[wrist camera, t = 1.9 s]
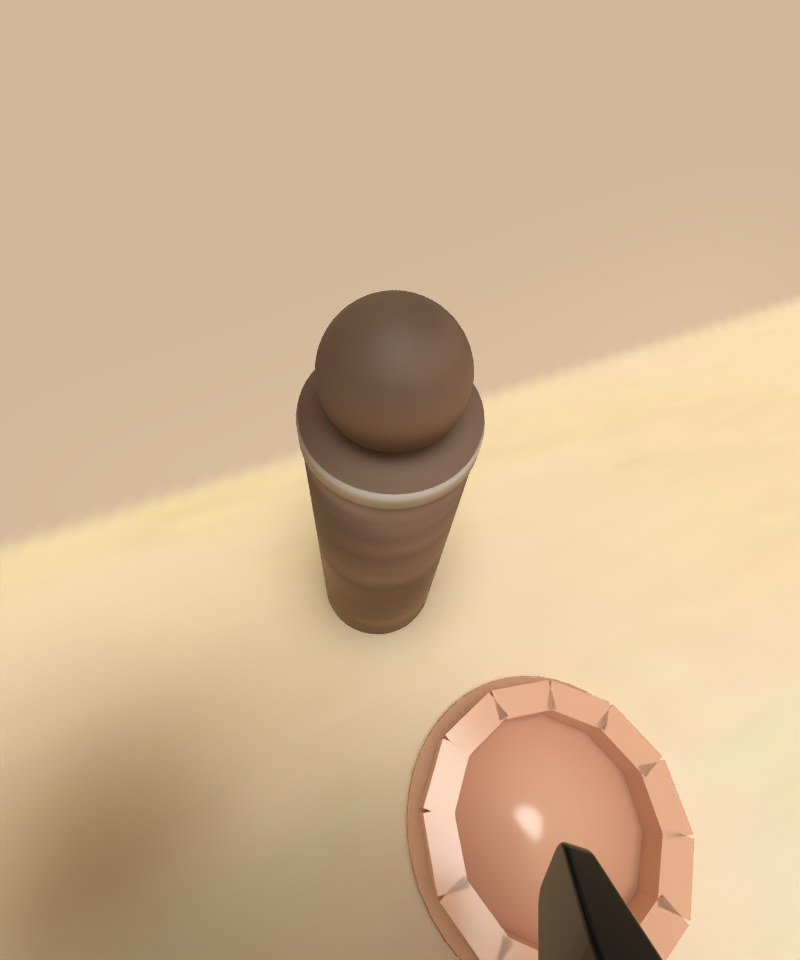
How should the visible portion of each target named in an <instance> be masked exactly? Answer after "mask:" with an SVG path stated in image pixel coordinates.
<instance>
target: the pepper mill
mask: <svg viewBox="0 0 800 960" xmlns="http://www.w3.org/2000/svg"><path fill="white" fill-rule="evenodd" d="M473 380H474V364H473V357H472V352H471V348H470V345H469V343H468V340H467V338H466V336H465V333H464V331H463V330H462V328H461V327H460V326H459V324H458V323H457V321H456V320H455V319H454V317H453V316H452V315H451V314H450V313H449V312H448V311H447V310H445V309H444V308H443V307H442V306H440V305H439V304H438V303H436V302H434V301H433V300H431V299H429V298H426V297H424V296H422V295H419V294H416V293H412V292H407V291H397V290H394V291H393V290H390V291H382V292H378V293H373V294H369V295H366V296H364V297H362V298H360V299H358V300H356V301H354V302H353V303H351V304H349V305H348V306H347V307H346V308H344V309H343V310H342V311H341V312H340V313H339V314H338V315H337V316H336V317H335V318H334V319H333V321H332V322H331V323H330V325H329V326H328V328H327V329H326V331H325V333H324V335H323V337H322V339H321V342H320V344H319V348H318V351H317V356H316V363H315V370H314V371H313V372H312V374H311V375H310V377H309V378H308V379H307V381H306V382H305V384H304V386H303V388H302V391H301V394H300V397H299V401H298V404H297V411H296V426H297V432H298V437H299V443H300V448H301V451H302V454H303V457H304V460H305V466H306V471H307V477H308V483H309V489H310V495H311V501H312V506H313V512H314V518H315V524H316V530H317V536H318V541H319V547H320V553H321V559H322V565H323V571H324V576H325V582H326V588H327V594H328V598H329V601H330V604H331V606H332V608H333V610H334V611H335V613H336V614H337V615H338V616H339V617H340V619H341V620H342V621H344V622H345V623H346V624H347V625H349V626H351V627H352V628H354V629H356V630H359V631H362V632H365V633H371V634H384V633H389V632H393V631H396V630H399V629H401V628H403V627H404V626H406V625H407V624H409V623H410V622H411V621H412V620H413V619H414V618H415V617H416V616H417V615H418V614H419V612H420V611H421V609H422V608H423V606H424V603H425V601H426V598H427V595H428V592H429V589H430V586H431V583H432V580H433V578H434V575H435V572H436V569H437V566H438V563H439V560H440V557H441V554H442V551H443V548H444V545H445V542H446V539H447V537H448V534H449V531H450V528H451V525H452V522H453V519H454V516H455V513H456V510H457V507H458V504H459V501H460V499H461V496H462V493H463V490H464V487H465V484H466V481H467V478H468V475H469V472H470V470H471V469H472V467H473V465H474V463H475V460H476V458H477V455H478V452H479V449H480V447H481V444H482V440H483V436H484V427H485V421H484V409H483V405H482V401H481V398H480V396H479V393H478V391H477V389H476V387H475V386H474V384H473Z"/></svg>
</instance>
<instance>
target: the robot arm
mask: <svg viewBox="0 0 800 960" xmlns="http://www.w3.org/2000/svg"><path fill="white" fill-rule="evenodd" d="M538 960H663V959H662V958H661V956H660V955H659V953H658V952H657V950H656V948H655V947H654V945H653V944H652V942H651V941H650V939H649V938H648V936H647V935H646V933H645V932H644V930H643V929H642V927H641V925H640V924H639V922H638V921H637V919H636V918H635V916H634V915H633V913H632V912H631V910H630V909H629V907H628V906H627V904H626V903H625V901H624V899H623V898H622V896H621V895H620V893H619V892H618V890H617V889H616V887H615V886H614V884H613V883H612V881H611V880H610V878H609V876H608V875H607V873H606V872H605V870H604V869H603V867H602V866H601V864H600V863H599V861H598V860H597V858H596V857H595V855H594V854H593V853H592V852H591V851H590V850H588V849H586V848H583V847H580V846H577V845H574V844H571V843H567V842H561V843H560V844H559V845H558V846H557V848H556V850H555V852H554V854H553V857H552V859H551V862H550V864H549V867H548V869H547V872H546V874H545V877H544V879H543V881H542V884H541V888H540V892H539V900H538Z"/></svg>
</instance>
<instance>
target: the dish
mask: <svg viewBox="0 0 800 960" xmlns="http://www.w3.org/2000/svg"><path fill="white" fill-rule="evenodd" d="M609 703H610V702H608V701H605V700H603V699H600V698H597V697H595V696H592V695H591V694H589V693H587V692H586V691H584V690H582V689H579V688H577V687H575V686H573V685H570V684H567V683H564V682H561V681H558V680H554V679H549V678H543V677H530V676H521V677H512V678H505V679H501V680H498V681H494V682H491V683H489V684H486V685H484V686H481V687H479V688H477V689H475V690H474V691H472V692H471V693H469V694H467V695H466V696H464V697H463V698H462V699H461V700H459V701H458V702H457V703H456V704H455V705H453V706H452V707H451V708H450V709H449V710H448V711H447V712H446V713H445V715H444V716H443V717H442V718H441V719H440V720H439V721H438V723H437V724H436V726H435V727H434V729H433V730H432V732H431V733H430V734H429V736H428V738H427V740H426V742H425V744H424V746H423V748H422V750H421V752H420V755H419V758H418V761H417V763H416V766H415V769H414V773H413V778H412V782H411V786H410V793H409V801H408V839H409V848H410V855H411V859H412V864H413V869H414V873H415V877H416V880H417V883H418V886H419V889H420V892H421V895H422V897H423V899H424V902H425V904H426V906H427V908H428V910H429V913H430V915H431V917H432V919H433V920H434V922H435V924H436V925H437V927H438V929H439V930H440V932H441V934H442V935H443V937H444V939H445V940H446V942H447V943H448V944H449V946H450V947H451V948H452V949H453V951H454V952H455V953H456V955H457V956H458V957H459V958H460V960H538V900H539V892H540V888H541V884H542V881H543V879H544V877H545V874H546V872H547V869H548V867H549V864H550V862H551V859H552V857H553V854H554V852H555V850H556V848H557V846H558V845H559V844H560V843H561V842H567V843H571V844H574V845H577V846H580V847H583V848H586V849H588V850H590V851H591V852H592V853H593V854H594V855H595V857H596V858H597V860H598V861H599V863H600V864H601V866H602V867H603V869H604V870H605V872H606V873H607V875H608V876H609V878H610V880H611V881H612V883H613V884H614V886H615V887H616V889H617V890H618V892H619V893H620V895H621V896H622V898H623V899H624V901H625V903H626V904H627V906H628V907H629V909H630V910H631V912H632V913H633V915H634V916H635V918H636V919H637V921H638V922H639V924H640V925H641V927H642V929H643V930H644V932H645V933H646V935H647V936H648V938H649V939H650V941H651V942H652V944H653V945H654V947H655V948H656V950H657V952H658V953H659V955H660V956H661V958H662V959H663V960H666V959H667V958H668V956H669V955H670V953H671V952H672V950H673V949H674V947H675V946H676V944H677V942H678V941H679V939H680V938H681V936H682V935H683V933H684V932H685V930H686V929H687V927H688V926H689V925H688V924H687V923H686V921H685V920H684V919H683V918H686V919H688V920H690V915H691V894H692V873H693V852H694V839H692V838H690V837H687V835H691V834H693V832H692V830H691V827H690V824H689V822H688V819H687V817H686V814H685V811H684V809H683V806H682V804H681V801H680V798H679V796H678V793H677V791H676V788H675V785H674V783H673V780H672V778H671V775H670V772H669V770H668V767H667V765H666V762H665V760H661V761H659V759H660V758H661V757H662V755H661V754H660V753H659V752H658V751H657V750H656V749H655V748H654V747H653V746H652V745H651V744H650V743H649V742H648V741H647V740H646V738H645V737H644V736H643V735H642V734H641V733H640V732H639V731H638V730H637V729H636V728H635V727H634V726H633V725H632V724H631V723H630V722H629V721H628V720H627V719H626V717H625V716H624V715H623V714H622V713H621V712H620V711H619V710H618V709H617V708H616V707H615V706H614V705H610V706H609ZM682 917H683V918H682Z"/></svg>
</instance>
